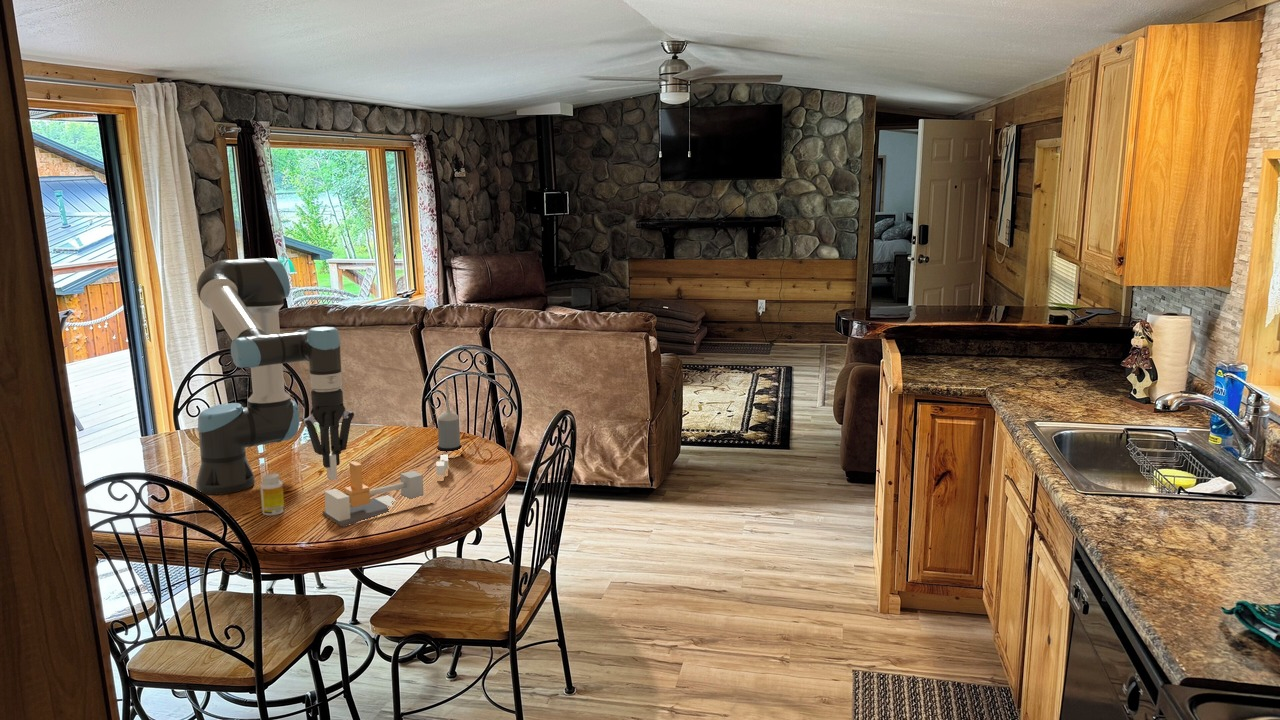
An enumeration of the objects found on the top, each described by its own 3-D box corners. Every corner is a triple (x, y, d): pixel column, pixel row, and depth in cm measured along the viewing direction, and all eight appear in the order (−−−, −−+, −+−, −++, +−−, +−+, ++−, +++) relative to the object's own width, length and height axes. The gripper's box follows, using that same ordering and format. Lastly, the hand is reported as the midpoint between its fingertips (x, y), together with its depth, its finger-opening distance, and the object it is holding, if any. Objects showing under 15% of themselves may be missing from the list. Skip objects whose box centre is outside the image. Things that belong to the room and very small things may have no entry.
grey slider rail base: (342, 527, 221) (341, 499, 219) (322, 514, 229) (321, 487, 228) (433, 503, 238) (432, 477, 237) (411, 492, 247) (410, 467, 245)
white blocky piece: (441, 467, 270) (441, 450, 269) (471, 473, 266) (471, 455, 265) (409, 481, 257) (408, 463, 256) (440, 487, 252) (439, 468, 251)
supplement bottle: (288, 512, 230) (286, 475, 228) (267, 518, 226) (265, 480, 224) (279, 507, 234) (276, 470, 232) (258, 512, 230) (255, 475, 228)
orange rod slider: (352, 507, 226) (349, 467, 224) (345, 503, 229) (342, 463, 227) (369, 503, 229) (367, 463, 227) (362, 499, 232) (360, 459, 230)
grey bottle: (440, 451, 286) (437, 376, 282) (465, 451, 286) (463, 377, 281) (433, 458, 278) (431, 382, 274) (459, 458, 278) (456, 382, 273)
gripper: (307, 395, 212) (313, 487, 216) (358, 387, 220) (362, 476, 225) (295, 390, 217) (301, 480, 221) (344, 382, 226) (349, 469, 230)
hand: (332, 478), depth 223 cm, fingers closed
